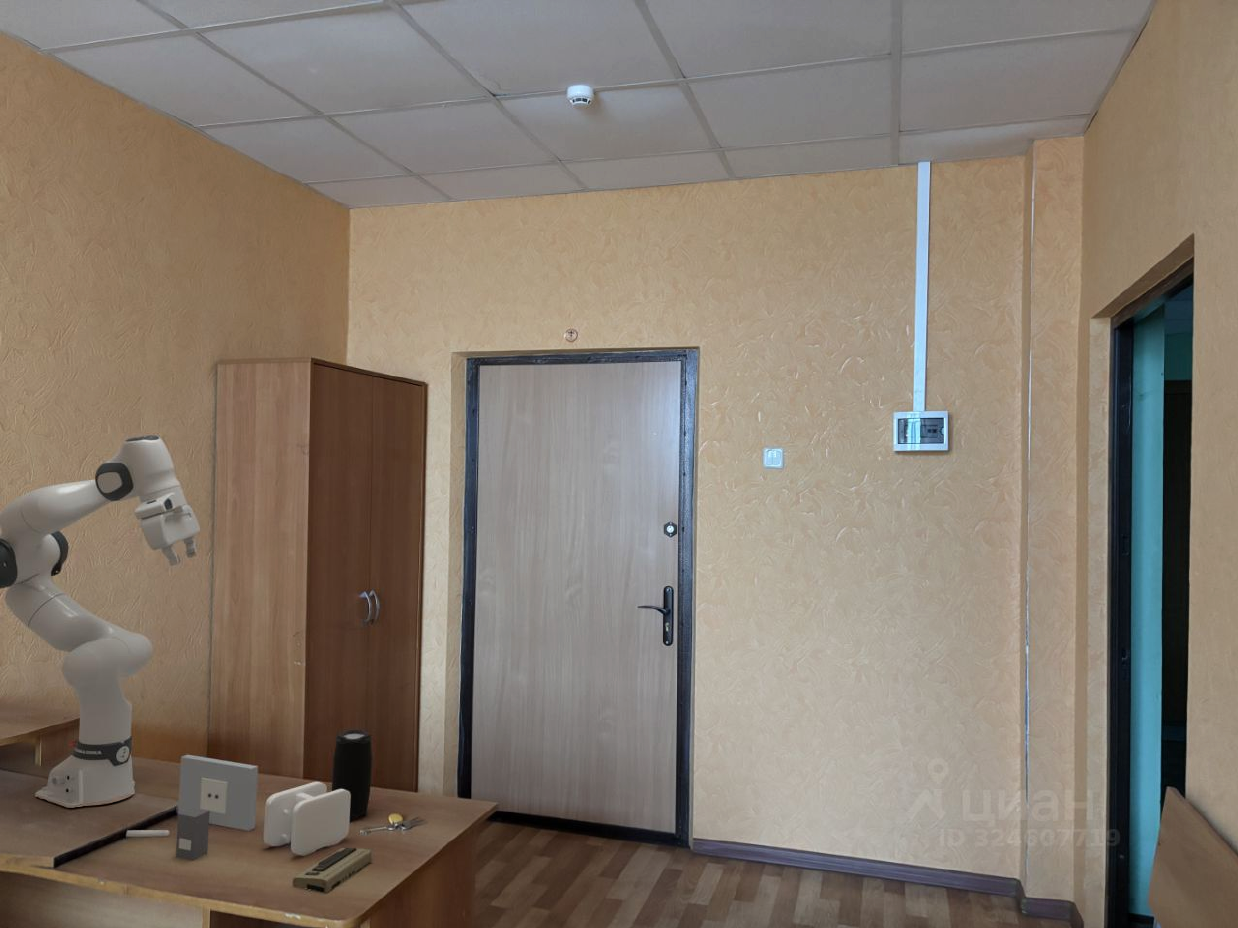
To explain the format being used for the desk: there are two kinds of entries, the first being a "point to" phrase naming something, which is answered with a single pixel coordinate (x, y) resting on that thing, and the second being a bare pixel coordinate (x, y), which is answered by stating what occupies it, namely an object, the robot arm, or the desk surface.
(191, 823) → the block
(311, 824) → the organizer
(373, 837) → the desk surface
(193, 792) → the outlet plate
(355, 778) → the portable speaker
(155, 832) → the white rod
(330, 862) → the computer
